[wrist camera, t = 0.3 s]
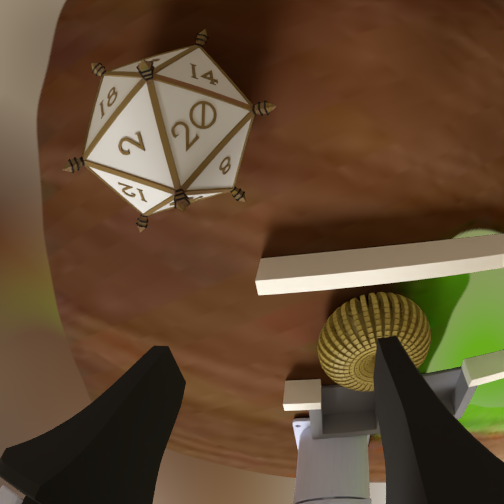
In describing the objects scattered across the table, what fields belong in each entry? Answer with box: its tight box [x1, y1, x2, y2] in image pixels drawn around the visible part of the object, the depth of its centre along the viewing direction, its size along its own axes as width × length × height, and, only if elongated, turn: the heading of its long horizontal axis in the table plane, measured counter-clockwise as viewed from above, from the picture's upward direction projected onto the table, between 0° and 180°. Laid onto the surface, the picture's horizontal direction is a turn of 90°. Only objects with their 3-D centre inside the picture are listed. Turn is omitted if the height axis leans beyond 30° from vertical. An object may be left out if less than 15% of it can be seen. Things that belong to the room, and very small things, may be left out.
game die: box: [62, 29, 276, 233], centre depth 13 cm, size 9×8×10 cm
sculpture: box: [317, 292, 431, 391], centre depth 20 cm, size 8×4×8 cm
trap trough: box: [255, 234, 504, 439], centre depth 20 cm, size 18×26×2 cm
